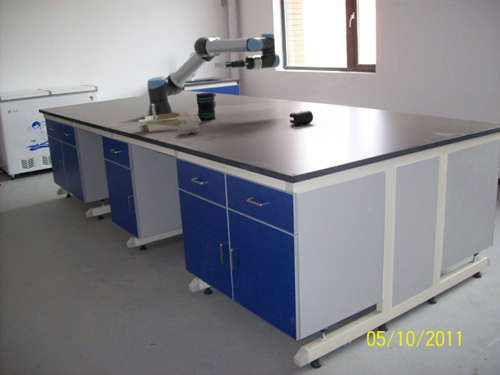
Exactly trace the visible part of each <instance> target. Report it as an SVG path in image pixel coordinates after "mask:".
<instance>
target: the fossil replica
mask: <svg viewBox="0 0 500 375" xmlns="http://www.w3.org/2000/svg"><path fill="white" fill-rule="evenodd" d="M201 122H202V121H201V120H200V119H199V117H192V118H190V119H185V120H184V121H183V122H182V124H181V125H180V126H178V129H177V131H178V133H179V134H180V135H183V136H187V135H189V134H197V133H198V132H199V131H200V124H201Z"/></svg>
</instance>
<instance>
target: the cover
mask: <svg viewBox="0 0 500 375" xmlns="http://www.w3.org/2000/svg"><path fill="white" fill-rule="evenodd" d="M151 105H152V113H153V118H152V119H145V118H144V119H138V123H139V125H141V124H145V123H148V122H151V121H157V120H156V113H155V105H154V104H151Z"/></svg>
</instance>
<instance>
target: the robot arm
mask: <svg viewBox="0 0 500 375" xmlns="http://www.w3.org/2000/svg"><path fill="white" fill-rule="evenodd" d="M275 41H276V39H275V34H274V33H273V32H270V33H268V32H267V33H261V35H260V36H259V37H243V38H230V39H225V38H224V39H221V38H220V37H218V36H214V35H211V36H202V37H199V38H197V40H195V42H194V45H193V49H194V51H195V52H194V53H193V54H192V55H191V56H190V57H189V58H188V59H187V60H186V62H184V63H183V64H182V65H181V66H180V67H179V68H178V69H177V70H176V71H175V72H174V71H173V72H171V73H169V75H168V76H166V77H165V76H156V77H152V78H150V79H148V80H147V90H148V91H147V92H148V99H149V107H148V116H153V113H152V105H151V104H154V105H155V113H156V115H163V114H172V113H173V109H172V108H171V107H172V106H170V103H169V99H168V97H169V96H170V97H171V96H176V95H179V94H180V93H181V92H183V90H184V87H185V85H186V84H185V82H186V81H188V80H189V79H190V78H191V77H192V76H193V75H194V74H195V73H196V72H197V71H198V70H199V69H200V68H201V67H202V66H203V65H204V64H206V63H207V62H211V61H212V60H214V58H215V57H218V56H220V55H222V54H233V53H259V52H261V54H258V55H257V54H256V55H253V56H252V55H248V56H246V57H245V60H244V59H240V60H239V59H238V60H235V61H231V60H230V61H219V62H214V68H219V69H232V68H246V70H247V71H248V70H258V71H259V70H260V69H272V68H277V67H279V66H280V62H281V60H280V55H279V54H278V53H276V47H275V46H276V45H275V44H276V43H275Z"/></svg>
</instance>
